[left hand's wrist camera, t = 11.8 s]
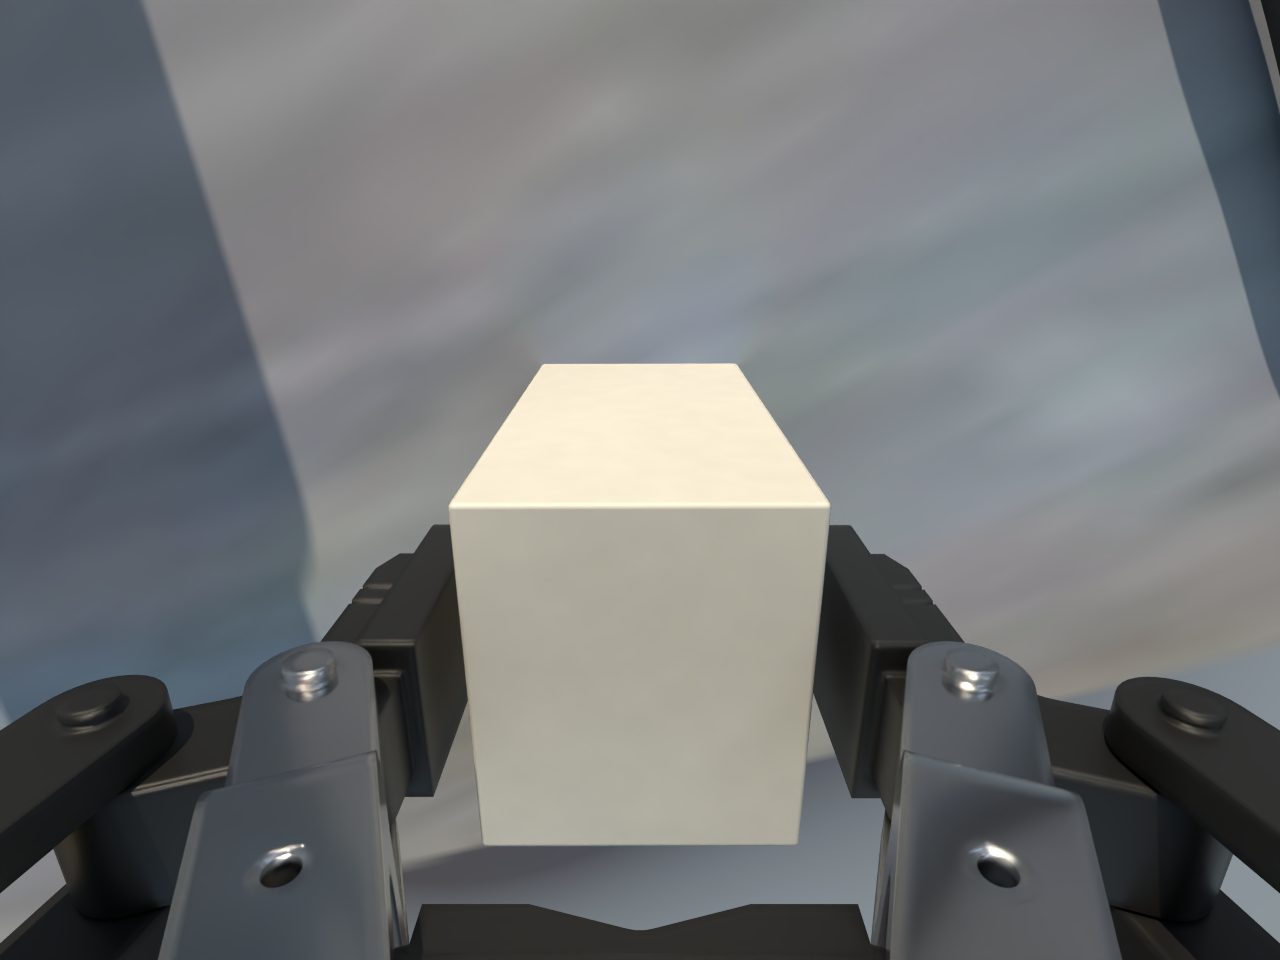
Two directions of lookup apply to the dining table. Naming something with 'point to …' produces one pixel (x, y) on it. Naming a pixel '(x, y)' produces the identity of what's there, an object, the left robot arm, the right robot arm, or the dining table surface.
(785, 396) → the dining table surface
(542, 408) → the block
